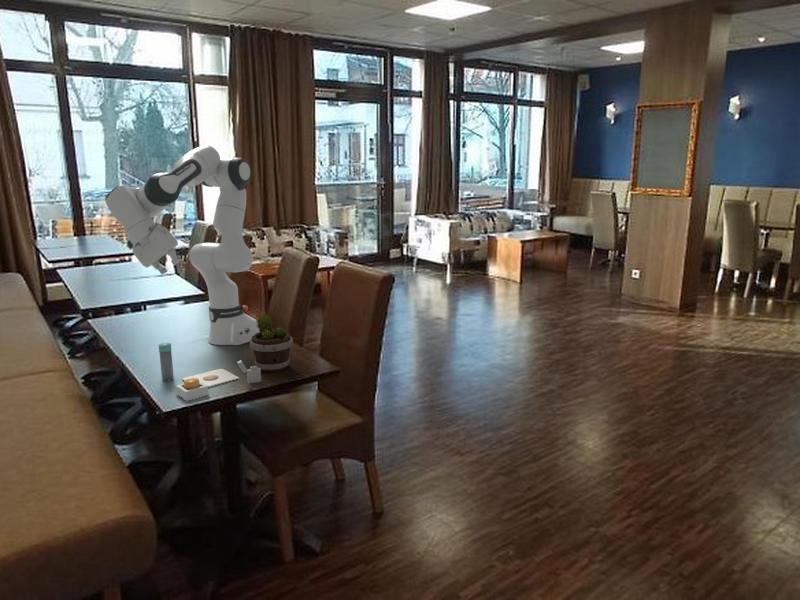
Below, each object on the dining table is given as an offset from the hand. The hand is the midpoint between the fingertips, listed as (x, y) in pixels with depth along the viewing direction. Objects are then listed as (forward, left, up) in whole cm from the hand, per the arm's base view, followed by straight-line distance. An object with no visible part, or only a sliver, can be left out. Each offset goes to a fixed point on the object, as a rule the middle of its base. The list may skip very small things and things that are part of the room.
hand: (171, 268), depth 189 cm
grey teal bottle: (+6, +3, -36) cm, 37 cm away
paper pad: (-4, +13, -36) cm, 39 cm away
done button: (+6, +21, -33) cm, 40 cm away
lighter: (-12, +24, -36) cm, 45 cm away
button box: (+6, +21, -36) cm, 42 cm away
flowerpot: (-25, +17, -36) cm, 47 cm away
